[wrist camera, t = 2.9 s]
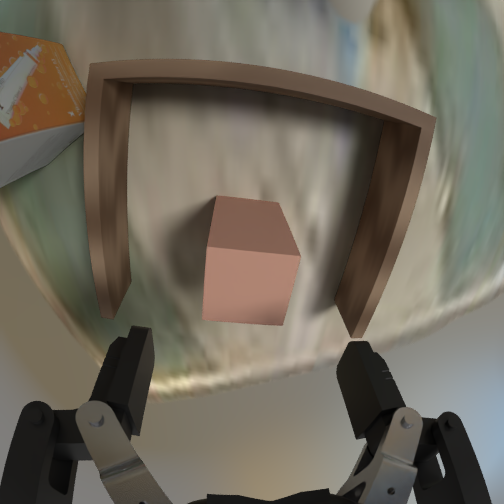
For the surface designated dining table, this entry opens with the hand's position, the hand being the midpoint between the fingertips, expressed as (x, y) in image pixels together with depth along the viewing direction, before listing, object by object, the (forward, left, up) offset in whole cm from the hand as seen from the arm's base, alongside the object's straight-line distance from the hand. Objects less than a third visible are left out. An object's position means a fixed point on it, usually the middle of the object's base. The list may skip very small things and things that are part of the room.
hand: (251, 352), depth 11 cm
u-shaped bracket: (-2, 0, -12) cm, 12 cm away
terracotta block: (0, 0, -12) cm, 12 cm away
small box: (-9, -16, -12) cm, 22 cm away
